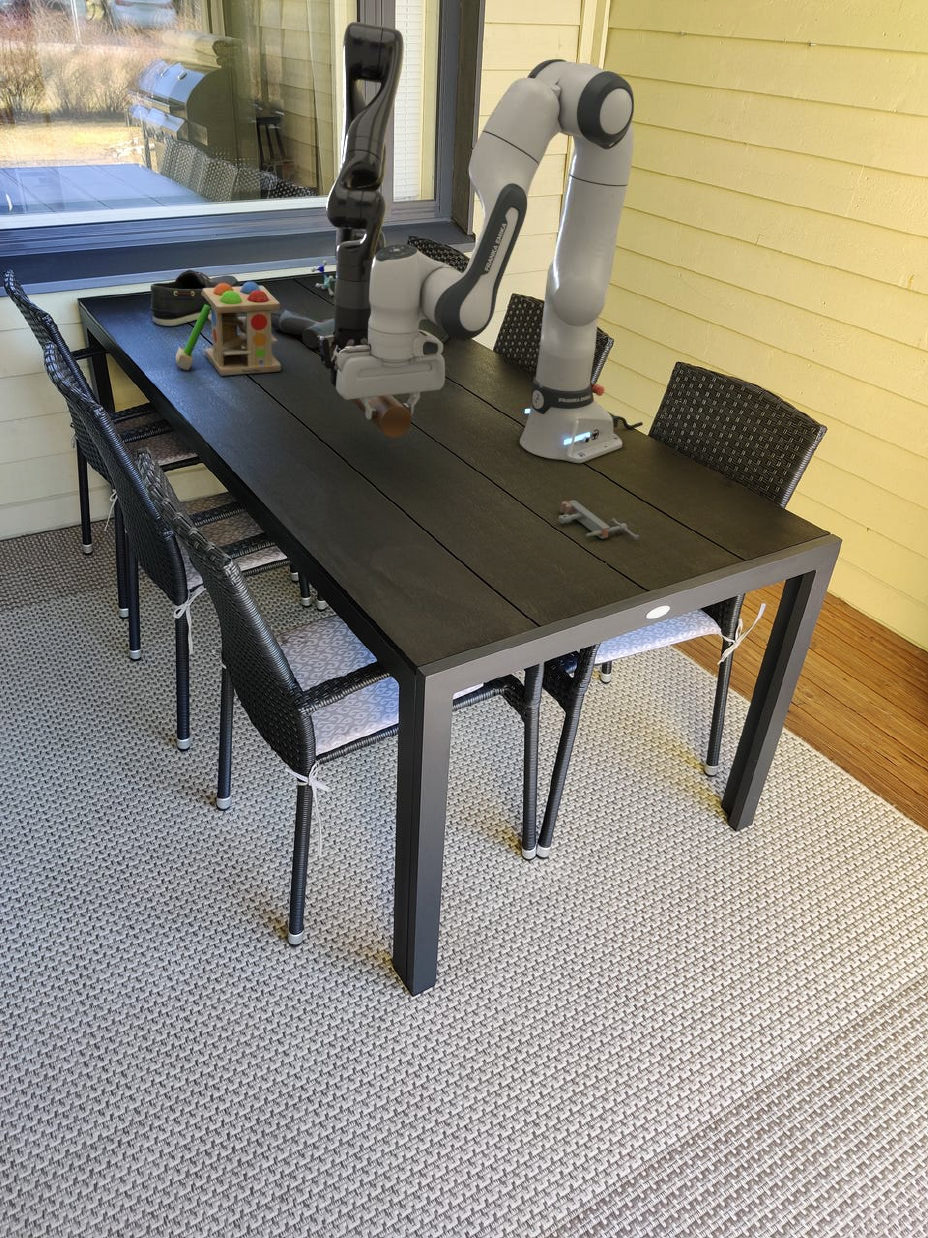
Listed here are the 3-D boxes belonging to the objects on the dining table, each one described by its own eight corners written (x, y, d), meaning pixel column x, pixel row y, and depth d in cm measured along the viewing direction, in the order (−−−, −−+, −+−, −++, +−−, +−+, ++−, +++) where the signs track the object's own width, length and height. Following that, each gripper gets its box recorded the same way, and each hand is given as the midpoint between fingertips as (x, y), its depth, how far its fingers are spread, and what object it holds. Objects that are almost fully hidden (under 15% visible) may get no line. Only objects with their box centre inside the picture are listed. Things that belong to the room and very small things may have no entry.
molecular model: (344, 287, 277) (332, 252, 275) (316, 300, 280) (304, 265, 279) (361, 290, 287) (349, 256, 286) (333, 302, 291) (322, 269, 289)
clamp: (548, 504, 180) (591, 495, 185) (546, 514, 181) (590, 505, 186) (596, 542, 170) (641, 532, 174) (594, 553, 171) (639, 543, 175)
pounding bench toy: (183, 379, 220) (176, 299, 210) (169, 357, 231) (162, 280, 221) (282, 371, 230) (280, 294, 220) (264, 350, 240) (262, 276, 230)
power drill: (305, 316, 264) (364, 334, 256) (257, 332, 251) (318, 351, 243) (305, 296, 261) (365, 314, 253) (257, 311, 248) (318, 330, 240)
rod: (332, 389, 197) (332, 359, 193) (360, 386, 199) (361, 357, 196) (380, 439, 179) (381, 408, 176) (410, 435, 182) (412, 404, 178)
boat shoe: (260, 304, 271) (258, 265, 265) (170, 328, 247) (166, 286, 242) (226, 295, 276) (223, 257, 271) (135, 318, 253) (129, 277, 247)
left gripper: (325, 309, 180) (325, 396, 189) (397, 304, 186) (393, 389, 195) (311, 296, 185) (311, 382, 194) (381, 292, 191) (378, 375, 200)
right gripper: (344, 353, 167) (342, 428, 174) (451, 343, 175) (445, 416, 183) (330, 340, 171) (330, 415, 179) (436, 332, 180) (431, 403, 187)
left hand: (352, 385), depth 195 cm, fingers closed on rod, 6 cm apart
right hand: (389, 415), depth 181 cm, fingers closed on rod, 6 cm apart
